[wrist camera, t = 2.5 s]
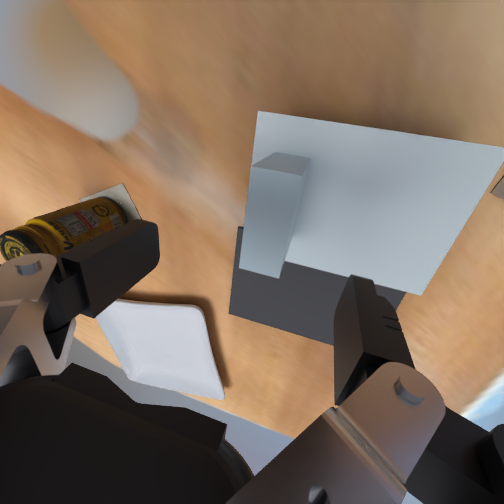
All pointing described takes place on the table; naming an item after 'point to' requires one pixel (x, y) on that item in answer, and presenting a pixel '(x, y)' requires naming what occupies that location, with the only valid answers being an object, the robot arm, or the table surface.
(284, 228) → the lid
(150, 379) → the salad plate
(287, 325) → the mat
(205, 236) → the table surface
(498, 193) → the milk carton
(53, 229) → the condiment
